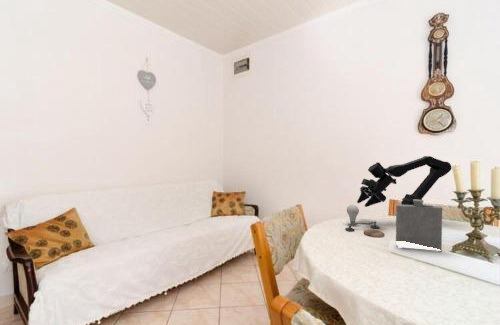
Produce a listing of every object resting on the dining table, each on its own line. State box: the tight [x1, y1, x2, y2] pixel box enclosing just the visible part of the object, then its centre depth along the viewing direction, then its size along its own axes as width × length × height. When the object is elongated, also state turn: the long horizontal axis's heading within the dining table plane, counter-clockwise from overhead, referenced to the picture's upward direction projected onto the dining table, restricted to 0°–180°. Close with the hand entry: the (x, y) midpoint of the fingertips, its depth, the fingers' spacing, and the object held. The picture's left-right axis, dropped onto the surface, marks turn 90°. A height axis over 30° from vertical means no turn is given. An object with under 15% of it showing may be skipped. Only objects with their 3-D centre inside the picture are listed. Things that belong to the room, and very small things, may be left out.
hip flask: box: [395, 199, 443, 251], centre depth 102 cm, size 16×4×20 cm, turn 72°
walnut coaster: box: [363, 229, 385, 238], centre depth 119 cm, size 9×9×1 cm
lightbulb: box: [346, 204, 360, 224], centre depth 135 cm, size 6×6×11 cm
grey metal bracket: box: [344, 221, 381, 233], centre depth 127 cm, size 18×4×3 cm, turn 104°
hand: (361, 204), depth 134 cm, fingers open, 9 cm apart
